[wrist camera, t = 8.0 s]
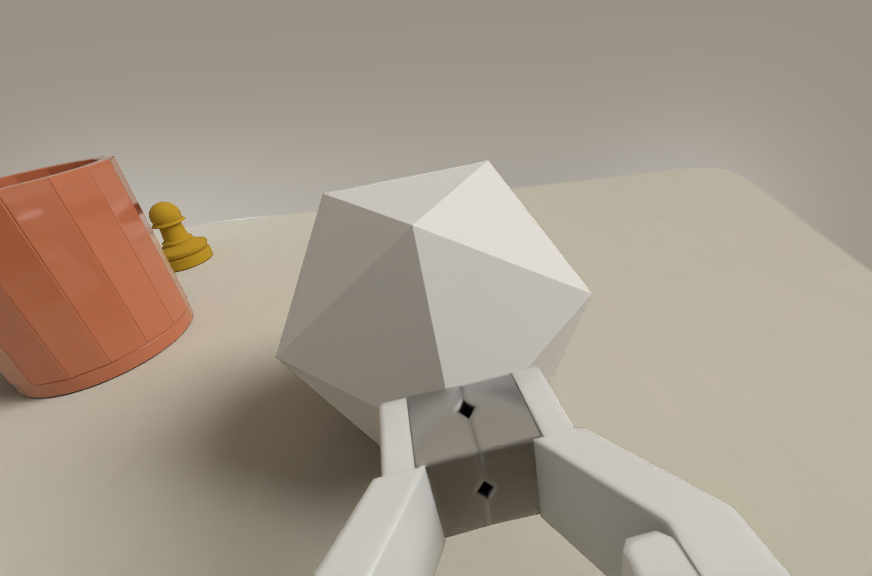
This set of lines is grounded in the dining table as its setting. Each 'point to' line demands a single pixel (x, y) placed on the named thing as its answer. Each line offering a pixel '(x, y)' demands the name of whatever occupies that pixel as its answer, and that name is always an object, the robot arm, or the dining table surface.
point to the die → (426, 292)
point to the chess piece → (178, 238)
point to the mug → (80, 279)
